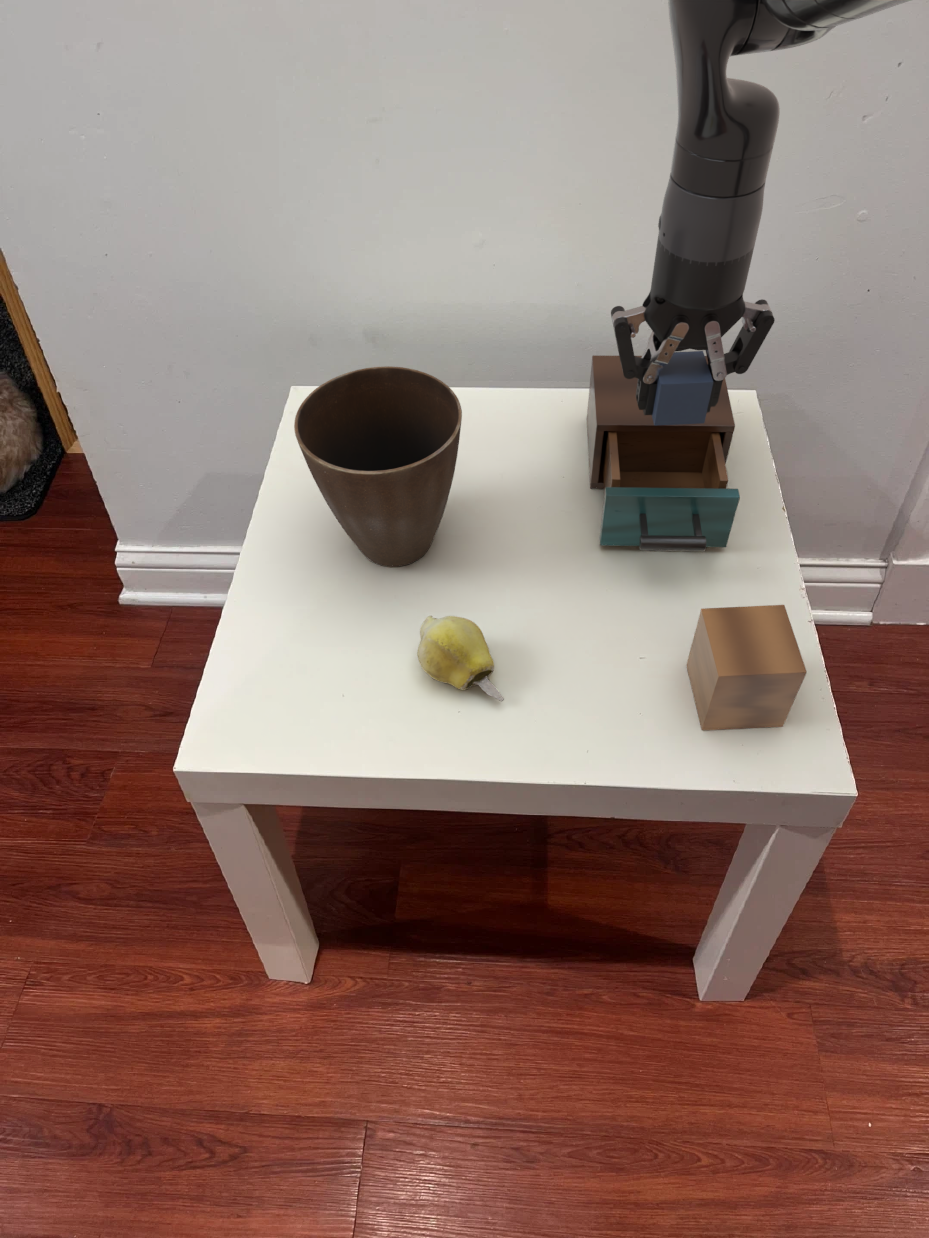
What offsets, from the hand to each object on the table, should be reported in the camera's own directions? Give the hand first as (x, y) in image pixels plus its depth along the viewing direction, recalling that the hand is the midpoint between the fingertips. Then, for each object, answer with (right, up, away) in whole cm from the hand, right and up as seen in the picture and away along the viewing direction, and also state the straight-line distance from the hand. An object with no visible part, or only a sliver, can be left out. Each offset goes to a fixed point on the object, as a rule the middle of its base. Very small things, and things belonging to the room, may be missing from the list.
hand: (675, 407), depth 86 cm
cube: (+4, -26, -4) cm, 27 cm away
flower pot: (-27, -12, +9) cm, 31 cm away
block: (0, 0, 0) cm, 0 cm away
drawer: (0, -10, +8) cm, 13 cm away
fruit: (-20, -25, -2) cm, 32 cm away
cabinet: (+1, -1, +16) cm, 16 cm away
